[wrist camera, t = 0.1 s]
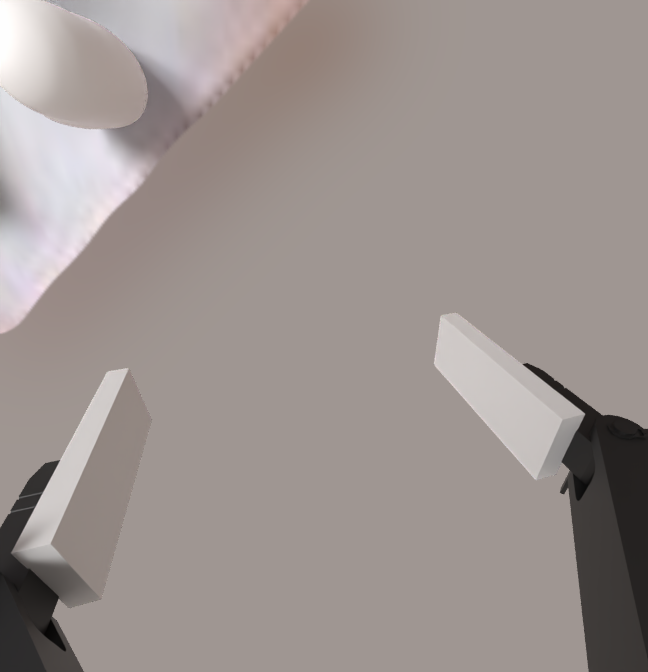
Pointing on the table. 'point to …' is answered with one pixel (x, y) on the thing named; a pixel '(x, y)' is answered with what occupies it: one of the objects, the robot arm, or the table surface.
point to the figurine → (68, 67)
